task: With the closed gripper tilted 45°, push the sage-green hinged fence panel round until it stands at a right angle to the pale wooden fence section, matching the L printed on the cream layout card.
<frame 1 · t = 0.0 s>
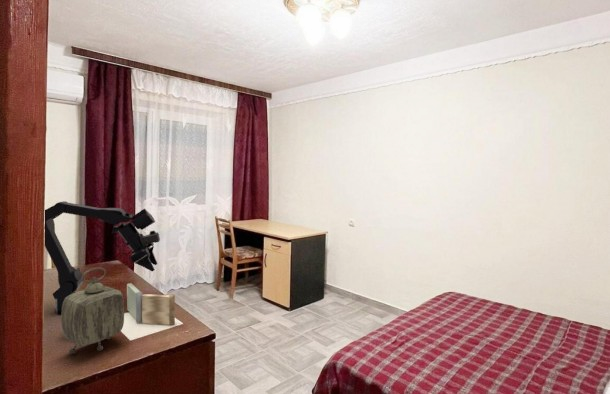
hand: (154, 267, 138), 15 cm above the cabinet, tool tilted 35°, fingers open, 9 cm apart
folding fence panel: (134, 301, 125), point 6 cm above the cabinet, hinge at -45.0°
tabletop clock: (96, 349, 103), on the cabinet
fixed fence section: (139, 322, 121), resting on layout card
layout card: (145, 321, 122), on the cabinet
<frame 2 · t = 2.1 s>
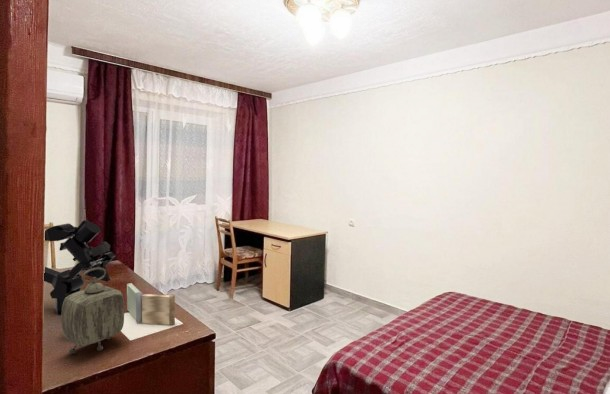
hand: (108, 280, 128), 12 cm above the cabinet, tool tilted 45°, fingers closed
nothing on the cabinet moved.
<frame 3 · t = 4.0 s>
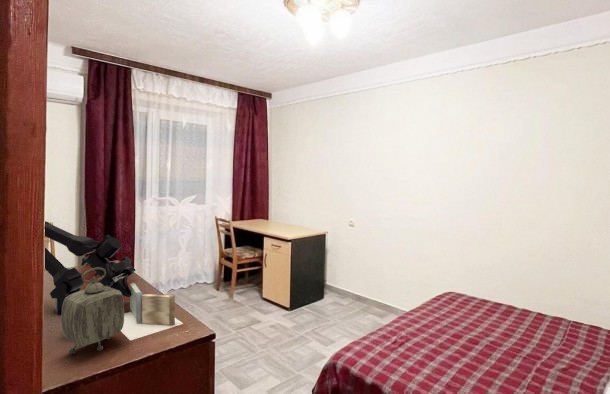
hand: (130, 296, 128), 7 cm above the cabinet, tool tilted 45°, fingers closed
folding fence panel: (135, 301, 125), point 6 cm above the cabinet, hinge at -40.4°, touching gripper
everything else where it was.
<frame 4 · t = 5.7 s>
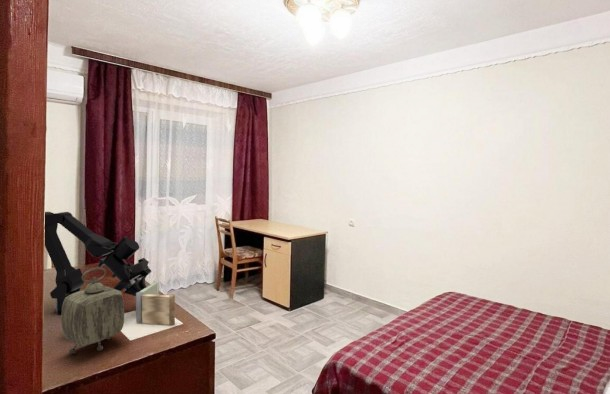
hand: (147, 297, 128), 7 cm above the cabinet, tool tilted 45°, fingers closed on folding fence panel
folding fence panel: (148, 300, 126), point 6 cm above the cabinet, hinge at -1.7°, touching gripper
everything else where it was.
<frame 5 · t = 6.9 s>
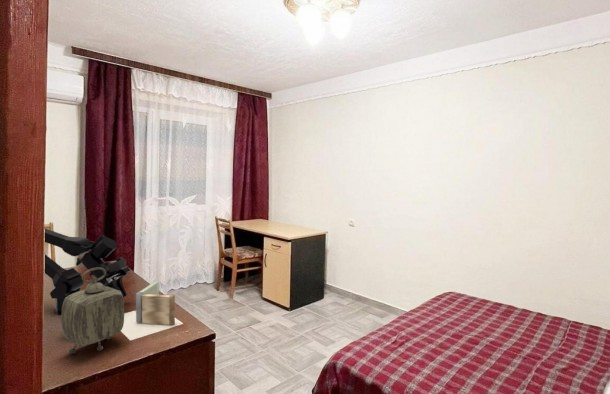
hand: (124, 296, 128), 7 cm above the cabinet, tool tilted 45°, fingers closed
folding fence panel: (148, 300, 126), point 6 cm above the cabinet, hinge at -1.6°
everything else where it was.
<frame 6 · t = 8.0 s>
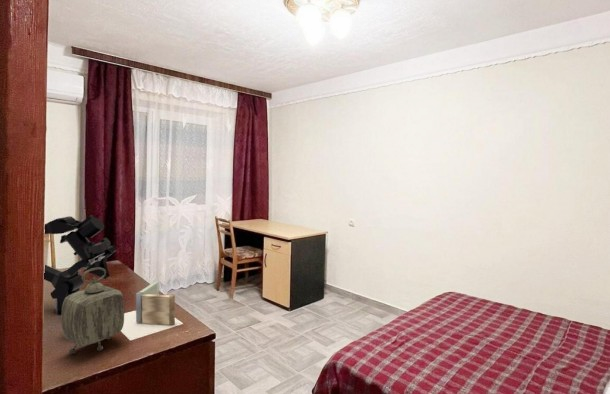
hand: (107, 277, 129), 13 cm above the cabinet, tool tilted 40°, fingers closed
nothing on the cabinet moved.
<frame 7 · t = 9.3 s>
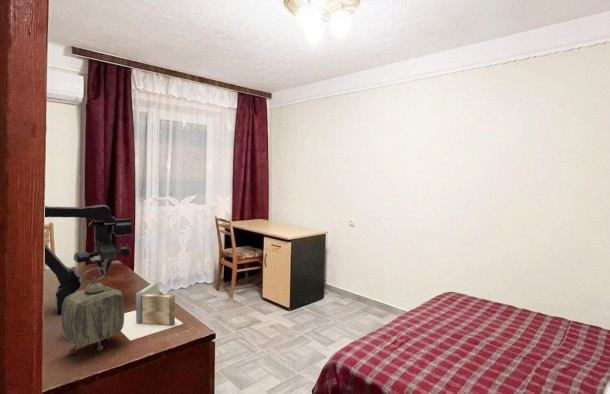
hand: (103, 275, 136), 12 cm above the cabinet, tool pointing down, fingers closed
nothing on the cabinet moved.
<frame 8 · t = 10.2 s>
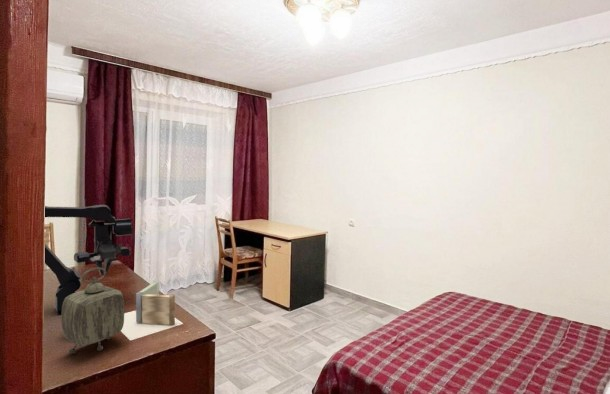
hand: (103, 275, 136), 12 cm above the cabinet, tool pointing down, fingers closed
nothing on the cabinet moved.
at the end: folding fence panel at -2° (first picture: -45°); tabletop clock moved 0.2 cm from its start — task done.
